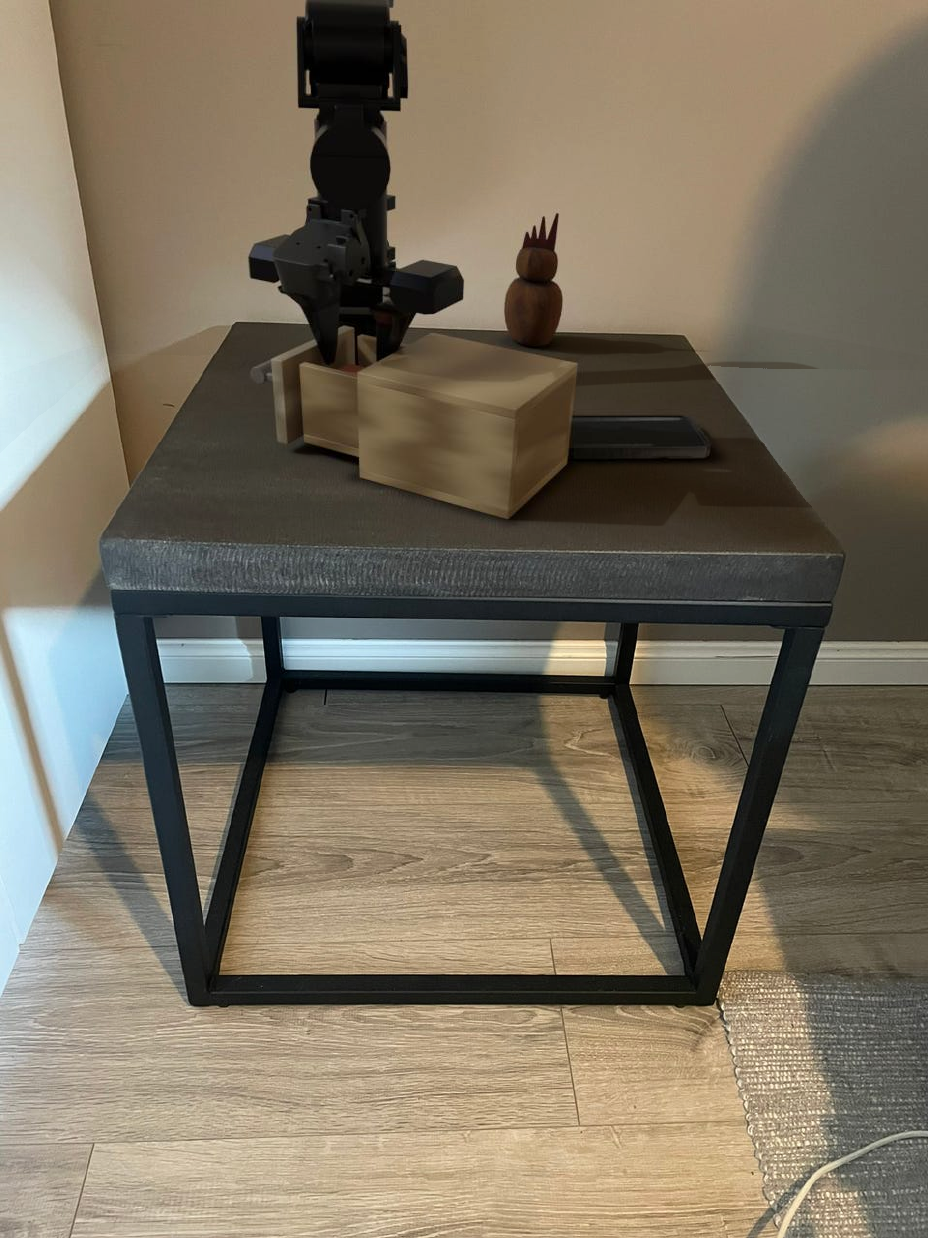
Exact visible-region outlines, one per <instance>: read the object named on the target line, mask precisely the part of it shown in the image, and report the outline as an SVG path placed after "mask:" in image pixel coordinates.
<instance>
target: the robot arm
mask: <svg viewBox="0 0 928 1238" xmlns="http://www.w3.org/2000/svg"><path fill="white" fill-rule="evenodd" d="M394 2H395V1H394V0H305V5H304V16H300V15H299V16H298V15H297V16H296V21H295V23H296V24H295V25H296V29H295V30H296V78H297V83H296V84H297V85H296V86H297V108H298V109H311V110H312V109H313V110H314V109H315V110H318V112H317V113H316V117H315V118H314V119H313V126H314V127H313V129H314V141H313V145H312V149H311V153H310V157H309V170H310V175H311V180H312V183H313V185H314V187H315V189H316V194H317V195H316V196H312V197H309V198H307V205H306V207H305V214H306V218H305V222H304V225H303V226H301V227H299V228H297V229H295V230H294V231H293V232H292V233H291V234H286V233H285V234H280V235H278V236H274V237H272V238H268V239H265V240H262V241H259V242H255V243H254V244H253V246H252V247H251V249H250V251H249V254H248V256H247V261H248V264H247V265H248V273H249V278H250V279H252V280H255V281H256V280H257V281H262V282H267V283H271V284H275V283H278V282H280V285H278V286H277V290H278V292H279V293H281V294H283V295H286V296H287V297H288V298H290V299H291V300H292V301H294V302H295V303H296V304H297V305H298V306H299V307H300V309H301V310H302V314H304V317H305V319H306V321H307V323H308V325H309V327H310V329H311V330H310V331H311V332H312V335H313V338H314V339H315V340H316V343H317V345H318V348H319V350H320V353H321V355H322V358H323V360H324V363H325V364H327V365H330V364H332V363H334V362H335V358H336V351H337V344H338V328H340V327H342V326H348V327H353V328H354V340H355V365H357V366H358V336H360V335H362V334H363V335H367V336H372V337H376V362H378V361H380V360H382V359H383V358H385V357H387V356H389V355H391V354H393V353H395V352H397V351H398V349H399V347H400V345H401V343H403V340H404V338H405V336H406V334H407V331H408V329H409V327H410V325H411V324H412V322H413V320H414V318H415V317H416V315H417V314H419V315H424V316H425V315H426V316H427V315H435V314H438V313H439V312H441V311H443V310H446V309H447V308H450V307H451V306H453V305H455V304H457V303H459V302H461V301H463V300H464V293H465V292H464V291H465V279H464V276H463V275H462V273H461V271H460V270H459V267H458V265H454V264H450V263H449V264H448V263H443V262H437V261H431V260H428V259H427V260H426V259H420V260H417V261H415V262H412V263H410V264H408V265H405V266H403V267H401V268H398V267H397V261H396V246H391V245H390V243H389V240H388V212H390V211H393V210H395V209H396V195H394V194H393V195H392V194H388V186H389V183H390V180H391V179H390V178H391V169H392V168H391V159H390V153H389V147H388V121H387V120H385V116H384V115H383V113H382V112H401V111H402V99H405V100H406V99H409V70H408V69H409V67H408V65H409V64H408V40H407V38H406V36H405V35H404V34H403V32H402V24H400V21H399V20H393V19H392V20H391V13H390V12H391V11H390V9H393V8H394ZM307 73H308V74H307ZM307 75H308V83H309V86H310V93H307ZM390 75H391V77H390ZM390 78H391V81H390ZM390 82H391V85H392V86H391V85H390ZM391 87H392V91H391V92H392V96H389V89H390V88H391Z"/></svg>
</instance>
